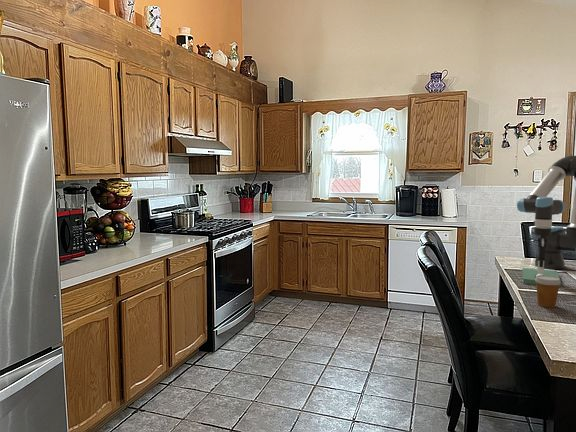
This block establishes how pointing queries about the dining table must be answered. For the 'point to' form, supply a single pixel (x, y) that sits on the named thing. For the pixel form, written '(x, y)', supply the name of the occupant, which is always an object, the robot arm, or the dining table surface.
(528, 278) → the putting mat
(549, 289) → the disposable coffee cup
